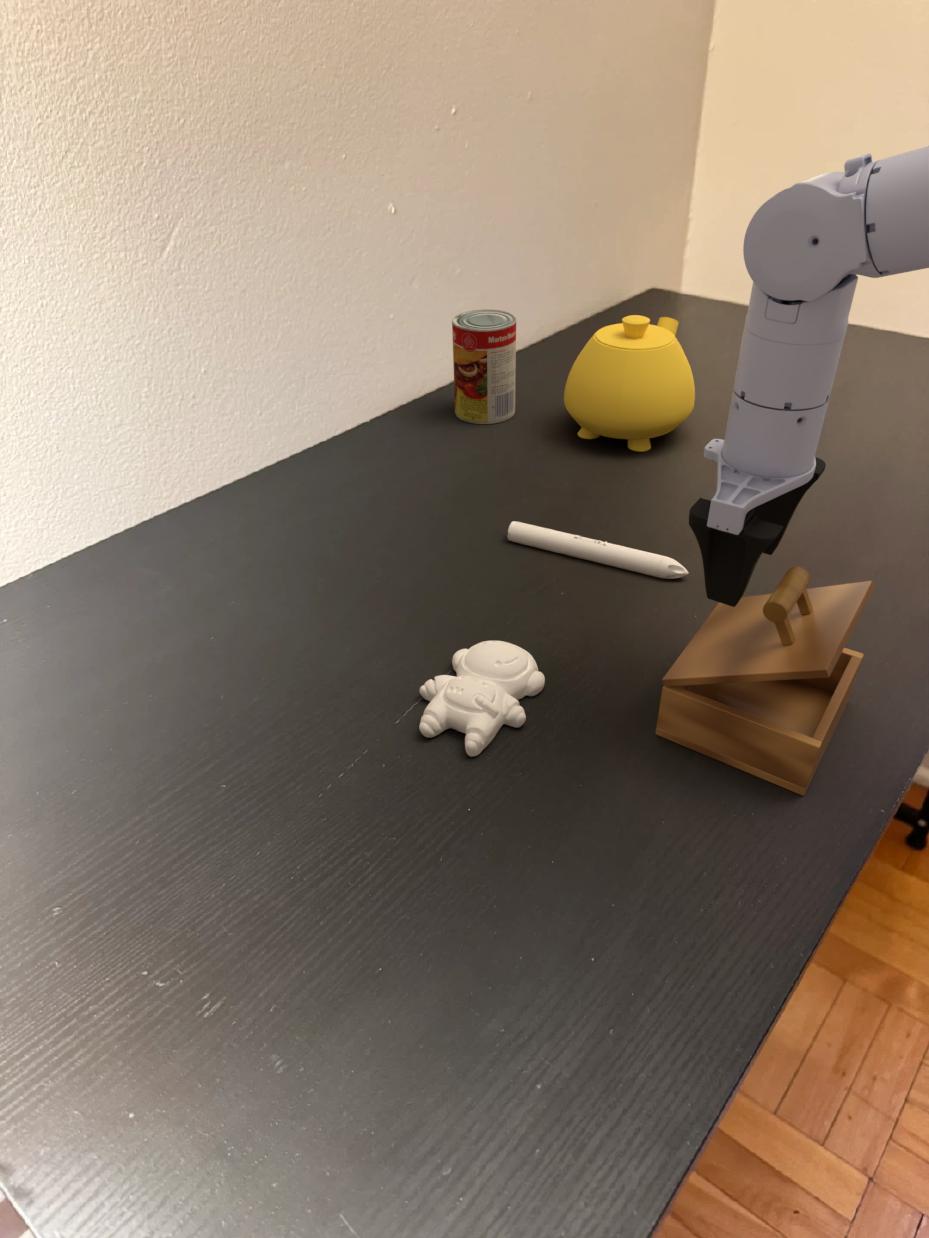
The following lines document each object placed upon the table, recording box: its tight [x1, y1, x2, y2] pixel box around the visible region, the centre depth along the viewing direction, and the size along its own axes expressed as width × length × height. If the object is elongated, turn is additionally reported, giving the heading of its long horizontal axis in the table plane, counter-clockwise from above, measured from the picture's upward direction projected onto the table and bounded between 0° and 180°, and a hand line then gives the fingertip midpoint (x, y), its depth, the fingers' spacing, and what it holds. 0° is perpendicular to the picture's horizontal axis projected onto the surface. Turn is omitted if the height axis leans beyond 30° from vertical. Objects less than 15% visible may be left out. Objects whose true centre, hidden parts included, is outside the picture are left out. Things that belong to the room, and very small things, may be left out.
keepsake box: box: [654, 647, 865, 797], centre depth 62 cm, size 11×11×5 cm
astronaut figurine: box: [418, 640, 546, 758], centre depth 65 cm, size 9×12×3 cm
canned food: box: [451, 308, 517, 425], centre depth 106 cm, size 8×8×12 cm
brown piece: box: [661, 566, 876, 686], centre depth 59 cm, size 12×11×4 cm
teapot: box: [563, 314, 696, 452], centre depth 102 cm, size 20×16×14 cm
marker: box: [506, 520, 690, 580], centre depth 81 cm, size 18×2×2 cm, turn 63°
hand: (741, 573), depth 61 cm, fingers open, 7 cm apart
